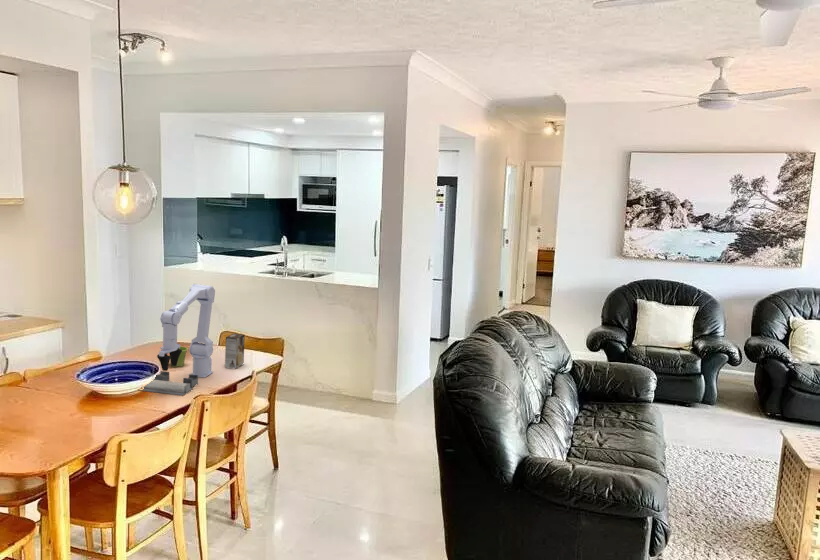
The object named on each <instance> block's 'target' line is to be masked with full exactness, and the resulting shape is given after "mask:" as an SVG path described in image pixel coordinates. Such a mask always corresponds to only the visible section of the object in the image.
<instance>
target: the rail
mask: <svg viewBox="0 0 820 560" xmlns="http://www.w3.org/2000/svg"><path fill="white" fill-rule="evenodd" d="M152 380H153V381H151V382H150V383H149V384H147V385H146V386H145V387H144V388H148V389H157V390H165V391H173V392H182V393H187V392H188V391H190V383H188V384H186V383H183V382H176V381H170V380H169V381H161V380H154V379H152ZM190 392H191V391H190ZM187 394H188V393H187Z"/></svg>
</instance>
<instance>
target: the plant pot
mask: <svg viewBox="0 0 820 560" xmlns="http://www.w3.org/2000/svg"><path fill="white" fill-rule="evenodd" d="M180 349H181V350H182V352H181V354H180V356H179V358H178V362H177V365H176V366H172V367H173V368H177V367H183V366H184V365H185V359H186V354H187V351H188V350H189V348H188V347H186V346H181V345H180ZM169 363H171V358H170V361H169Z"/></svg>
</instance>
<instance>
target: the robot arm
mask: <svg viewBox="0 0 820 560" xmlns="http://www.w3.org/2000/svg"><path fill="white" fill-rule="evenodd" d="M215 295H216V289H215V288H214V286H213V285H207V284H198V283H193V284H191V286H190V287H189V291H188V293H187V294H186V296H185V297H184V298H183V299H182V300H178V301H176V302H175V304H173V306H171V308H169V309H168V310H165V311H163V312H162V313H161V316H160V319H159V321H160V323H161V327H162V329H163V330H162V333H163V334H162V346H161V347H160V351H159V352H158V354H157V355H156V358H157V359H158V360H159V363H160V366H161V371H166V372H169V371H168V370H169V366H171V367H173V366H176V365H177V362H178V358H179V356H180V354H181V352H182V350H181V349H180V346H181V344H180V343H178V325H179V323H180V322H181V319H182V317H183V316H184V314H185V313H186V312H187V311H188V310H189V306H190V305H191V304H192V303H194V302H195V301H198V302H199V304H200V306H199V307H200V309H199V315H198V323H197V324H198V325H197V329H196V330H197V331H196V336H195V337H194V338H192V339H191V342H190V345H189V348H188V350H189V351H188V352H189V355H191V357H192V373H190V374H192V375H198V378H206V377H208V376H210V375H212V373H214V371H213V370H212V364H213V363H212V362H213V361H212V360H213V359H212V357H211V356H212V355H213V353H214V346H213V344H214V343H213V340H212V339H210V337H209V333H210V325H211V318H212V316H211V315H212V308H213V303H214V302H215ZM170 358H171V362H170ZM169 364H170V365H169Z"/></svg>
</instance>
